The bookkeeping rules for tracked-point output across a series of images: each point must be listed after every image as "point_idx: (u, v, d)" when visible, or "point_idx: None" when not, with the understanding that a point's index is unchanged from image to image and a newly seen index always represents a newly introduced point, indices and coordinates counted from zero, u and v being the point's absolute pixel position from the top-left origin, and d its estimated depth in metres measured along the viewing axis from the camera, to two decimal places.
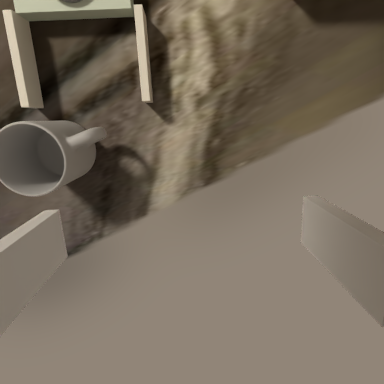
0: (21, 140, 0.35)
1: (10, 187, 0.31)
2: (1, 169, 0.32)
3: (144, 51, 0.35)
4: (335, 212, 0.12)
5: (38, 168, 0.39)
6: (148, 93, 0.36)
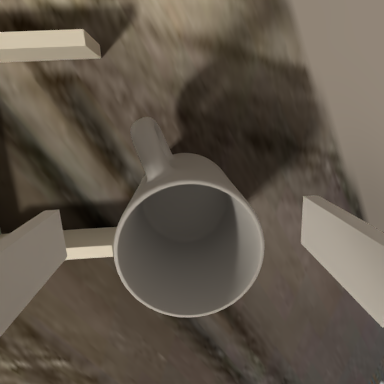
0: (162, 261, 0.21)
1: (242, 290, 0.16)
2: (208, 299, 0.17)
3: None
4: (335, 212, 0.12)
5: (212, 241, 0.24)
6: (70, 31, 0.18)
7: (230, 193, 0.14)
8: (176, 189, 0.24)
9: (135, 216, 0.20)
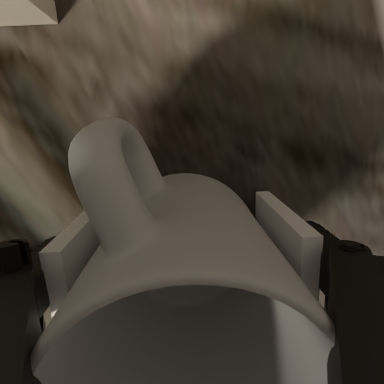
0: (146, 362, 0.12)
1: None
2: None
3: None
4: (275, 205, 0.13)
5: (227, 313, 0.15)
6: None
7: (292, 305, 0.06)
8: None
9: None
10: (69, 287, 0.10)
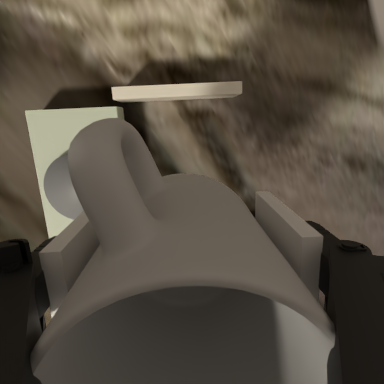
0: (145, 363, 0.12)
1: None
2: None
3: (173, 86, 0.23)
4: (274, 205, 0.13)
5: (227, 314, 0.15)
6: (231, 83, 0.24)
7: (292, 306, 0.06)
8: None
9: None
10: (69, 287, 0.10)
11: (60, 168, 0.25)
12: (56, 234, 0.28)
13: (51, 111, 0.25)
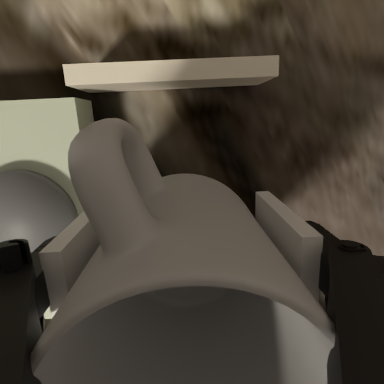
0: (145, 363, 0.12)
1: None
2: None
3: (165, 63, 0.14)
4: (274, 205, 0.13)
5: (227, 314, 0.15)
6: (261, 58, 0.14)
7: (292, 306, 0.06)
8: None
9: None
10: (69, 287, 0.10)
11: None
12: None
13: None
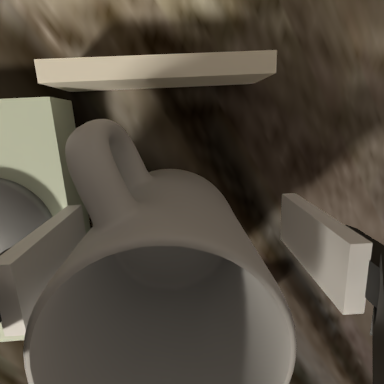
0: (132, 333, 0.14)
1: None
2: None
3: (150, 58, 0.13)
4: (307, 208, 0.13)
5: (207, 293, 0.17)
6: (257, 53, 0.13)
7: (237, 262, 0.08)
8: None
9: (90, 268, 0.13)
10: (23, 302, 0.09)
11: None
12: None
13: None
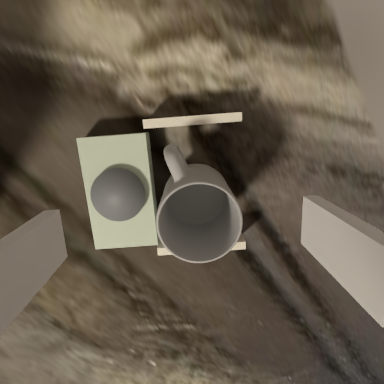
0: (182, 235, 0.32)
1: (231, 246, 0.27)
2: (211, 253, 0.28)
3: (189, 117, 0.31)
4: (335, 212, 0.12)
5: (215, 223, 0.35)
6: (233, 113, 0.31)
7: (221, 189, 0.26)
8: (190, 188, 0.36)
9: (164, 205, 0.31)
10: None
11: (103, 181, 0.33)
12: (98, 232, 0.35)
13: (96, 138, 0.32)
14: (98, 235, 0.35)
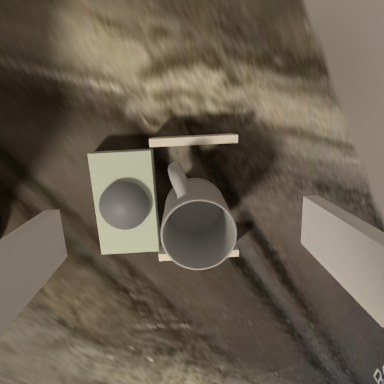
0: (182, 243, 0.36)
1: (226, 255, 0.31)
2: (208, 261, 0.32)
3: (190, 138, 0.34)
4: (335, 212, 0.12)
5: (211, 232, 0.38)
6: (230, 135, 0.34)
7: (219, 205, 0.29)
8: None
9: None
10: None
11: (111, 193, 0.36)
12: (105, 239, 0.38)
13: (105, 154, 0.35)
14: (104, 242, 0.38)
